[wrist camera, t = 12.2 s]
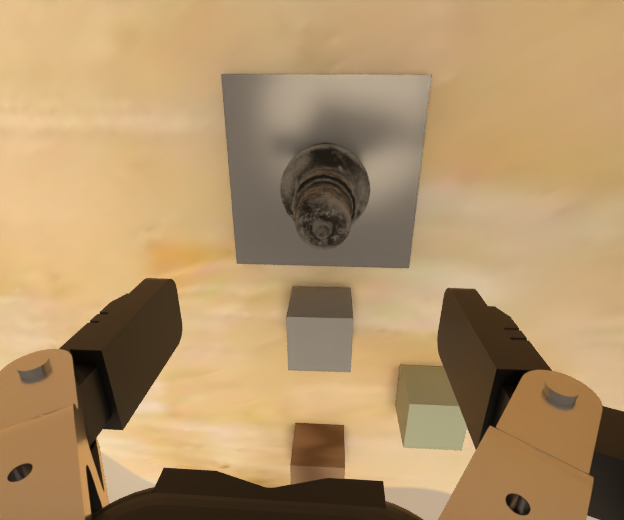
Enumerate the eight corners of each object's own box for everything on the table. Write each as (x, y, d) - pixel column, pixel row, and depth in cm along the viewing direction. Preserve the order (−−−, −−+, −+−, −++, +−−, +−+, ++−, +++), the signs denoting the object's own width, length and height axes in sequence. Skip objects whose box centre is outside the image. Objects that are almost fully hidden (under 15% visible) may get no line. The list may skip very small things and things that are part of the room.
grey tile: (428, 75, 26) (431, 74, 25) (406, 263, 31) (408, 268, 30) (225, 74, 26) (221, 74, 25) (239, 258, 32) (236, 263, 31)
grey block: (350, 287, 33) (353, 318, 28) (348, 335, 35) (350, 372, 30) (292, 285, 33) (286, 316, 28) (294, 334, 35) (288, 370, 30)
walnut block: (343, 424, 39) (344, 468, 34) (341, 458, 41) (342, 504, 36) (295, 422, 39) (290, 465, 35) (296, 456, 41) (291, 501, 37)
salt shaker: (312, 231, 30) (301, 312, 19) (270, 166, 28) (230, 212, 17) (379, 193, 28) (411, 256, 17) (340, 121, 26) (347, 140, 15)
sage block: (454, 366, 35) (471, 406, 31) (445, 406, 37) (461, 450, 33) (400, 364, 36) (409, 403, 31) (395, 404, 38) (403, 447, 33)
